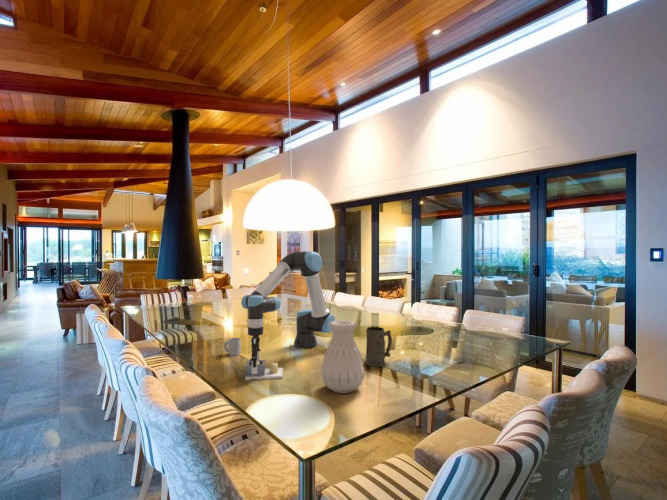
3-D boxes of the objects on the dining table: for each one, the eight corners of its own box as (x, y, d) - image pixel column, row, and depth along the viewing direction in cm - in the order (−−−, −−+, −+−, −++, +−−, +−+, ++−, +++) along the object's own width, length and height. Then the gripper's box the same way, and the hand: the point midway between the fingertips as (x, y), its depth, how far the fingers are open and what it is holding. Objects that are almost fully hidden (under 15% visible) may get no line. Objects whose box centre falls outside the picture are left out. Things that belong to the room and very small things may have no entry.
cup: (238, 355, 212) (238, 340, 212) (222, 355, 212) (222, 340, 212) (242, 352, 220) (242, 337, 220) (225, 352, 220) (225, 337, 220)
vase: (351, 401, 149) (351, 329, 149) (312, 391, 160) (312, 324, 160) (372, 385, 166) (372, 321, 166) (335, 377, 177) (335, 316, 176)
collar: (265, 369, 185) (265, 359, 185) (264, 375, 176) (264, 365, 176) (247, 370, 184) (247, 360, 184) (245, 376, 175) (245, 366, 175)
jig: (282, 370, 188) (282, 357, 188) (282, 378, 176) (282, 364, 176) (247, 371, 185) (247, 358, 185) (245, 380, 173) (245, 366, 173)
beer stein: (371, 368, 191) (373, 330, 191) (360, 362, 200) (362, 326, 201) (394, 365, 198) (396, 329, 198) (383, 360, 207) (385, 325, 208)
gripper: (250, 321, 191) (250, 361, 192) (245, 332, 167) (245, 378, 167) (264, 321, 193) (264, 360, 193) (261, 332, 168) (261, 377, 168)
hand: (255, 368), depth 180 cm, fingers open, 13 cm apart
